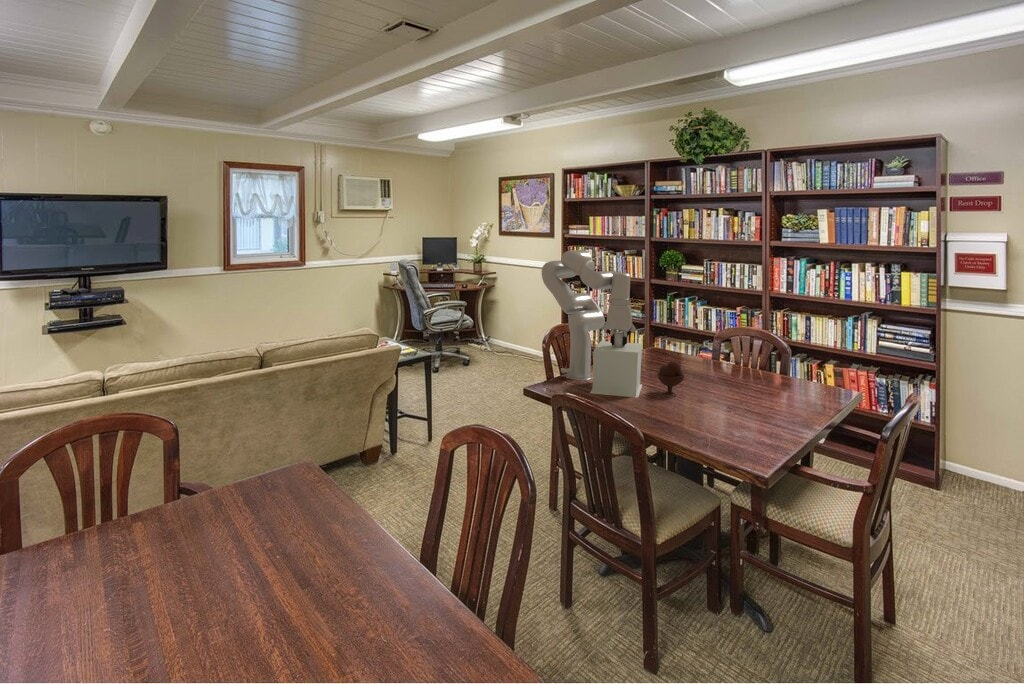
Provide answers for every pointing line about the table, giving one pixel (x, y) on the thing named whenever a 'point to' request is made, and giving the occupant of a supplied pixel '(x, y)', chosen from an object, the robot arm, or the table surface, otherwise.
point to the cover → (617, 367)
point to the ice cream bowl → (670, 375)
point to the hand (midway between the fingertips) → (618, 344)
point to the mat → (623, 395)
